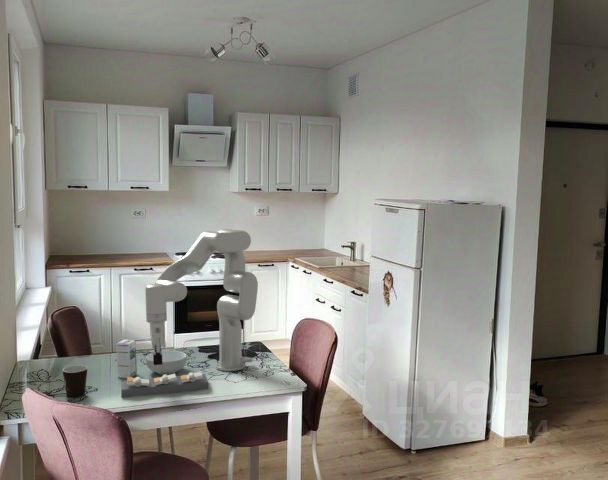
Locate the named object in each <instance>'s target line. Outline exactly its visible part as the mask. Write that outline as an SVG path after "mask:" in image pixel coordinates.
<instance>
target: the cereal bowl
mask: <svg viewBox="0 0 608 480" xmlns="http://www.w3.org/2000/svg"><path fill="white" fill-rule="evenodd" d="M153 354H154V351H153V352H151V353H148V354H147V355H146V357H145V363H146V366H147V368H148V369H149V370H150V371H151V372H154V373H156V374H157V375H162V376H163V375H165V374H166V375H167V376H168V375H171V374H176V372H179V371H181V370H182V369H184V367H185V366H186V363H187V359H188V357H187V355H188V354H187V353H186V352H183V351H179V350H162V364H161V365H154V362H153Z"/></svg>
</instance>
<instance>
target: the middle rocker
mask: <svg viewBox="0 0 608 480" xmlns="http://www.w3.org/2000/svg"><path fill="white" fill-rule="evenodd" d="M176 376H177V375H176V373H173V374H168V375H166V374H165V375H162V376H158V377H153V378H154V382H155V385H159V384H162V383H163V384H168V383H169V381H173V380H176Z"/></svg>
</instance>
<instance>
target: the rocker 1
mask: <svg viewBox="0 0 608 480" xmlns="http://www.w3.org/2000/svg"><path fill="white" fill-rule="evenodd" d="M149 379H150V378H141V376H136V377H134V376H132V377H127V378H126V381H127V384H132V385H135V386H137V387H139V386H141V385H145V386H149Z"/></svg>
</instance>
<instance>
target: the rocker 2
mask: <svg viewBox="0 0 608 480" xmlns="http://www.w3.org/2000/svg"><path fill="white" fill-rule="evenodd" d="M202 374H203V373H202V371H198V372H192V371H191V372H189V373H188V374H183V375H180V376H181V380H182V383H183V382H187V381H191V382H194V381H195V379H199V378H203V375H202Z"/></svg>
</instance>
